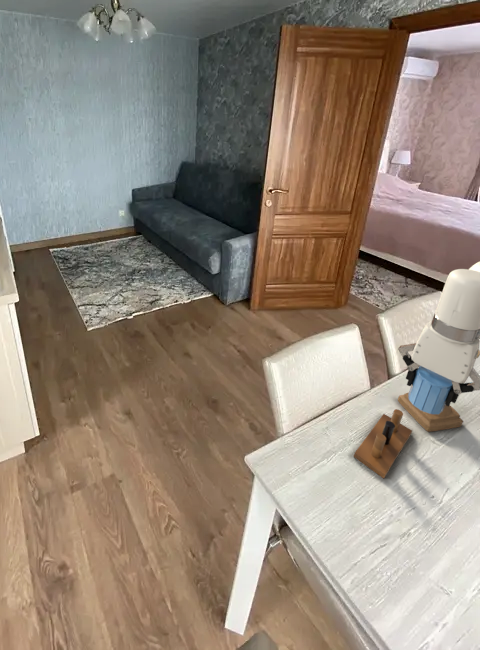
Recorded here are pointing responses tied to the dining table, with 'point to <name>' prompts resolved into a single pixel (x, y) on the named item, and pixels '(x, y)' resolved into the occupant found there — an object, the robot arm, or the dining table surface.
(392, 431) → the rack
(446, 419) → the candle holder
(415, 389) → the cup
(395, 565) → the dining table surface
